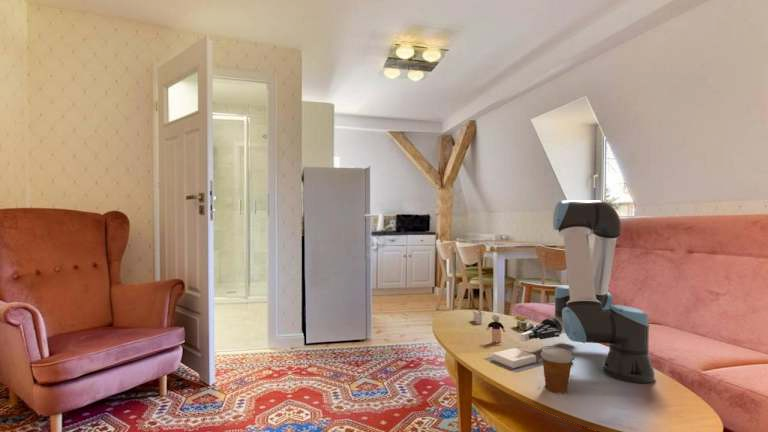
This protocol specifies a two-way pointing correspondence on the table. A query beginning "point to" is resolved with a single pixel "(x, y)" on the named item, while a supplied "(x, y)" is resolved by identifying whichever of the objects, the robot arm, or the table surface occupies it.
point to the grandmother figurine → (496, 328)
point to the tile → (514, 357)
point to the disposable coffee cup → (556, 368)
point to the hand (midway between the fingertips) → (522, 337)
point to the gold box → (521, 322)
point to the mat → (518, 369)
